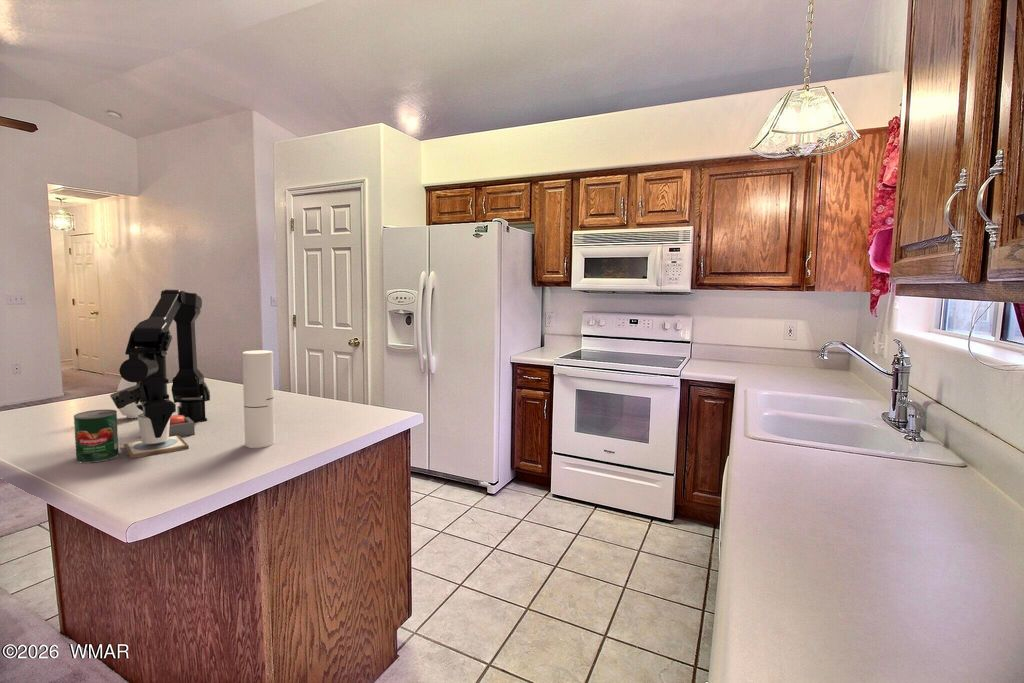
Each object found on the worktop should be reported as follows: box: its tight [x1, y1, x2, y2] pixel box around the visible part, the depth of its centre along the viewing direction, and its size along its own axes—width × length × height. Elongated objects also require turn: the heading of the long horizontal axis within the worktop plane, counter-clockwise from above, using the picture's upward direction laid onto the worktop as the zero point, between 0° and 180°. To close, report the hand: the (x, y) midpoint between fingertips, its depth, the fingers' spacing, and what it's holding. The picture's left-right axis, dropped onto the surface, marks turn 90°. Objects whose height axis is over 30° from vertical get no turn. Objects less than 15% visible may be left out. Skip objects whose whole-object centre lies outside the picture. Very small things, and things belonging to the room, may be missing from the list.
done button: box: [170, 414, 185, 425], centre depth 137 cm, size 5×5×2 cm
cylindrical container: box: [242, 349, 276, 449], centre depth 130 cm, size 7×7×25 cm
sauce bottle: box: [116, 377, 143, 420], centre depth 152 cm, size 8×8×18 cm
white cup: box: [137, 414, 170, 444], centre depth 125 cm, size 7×7×7 cm
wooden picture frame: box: [122, 435, 190, 459], centre depth 126 cm, size 12×12×1 cm
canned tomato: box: [73, 408, 120, 464], centre depth 117 cm, size 8×8×11 cm
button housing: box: [169, 417, 196, 437], centre depth 138 cm, size 8×8×4 cm
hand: (155, 434), depth 126 cm, fingers closed on white cup, 6 cm apart
